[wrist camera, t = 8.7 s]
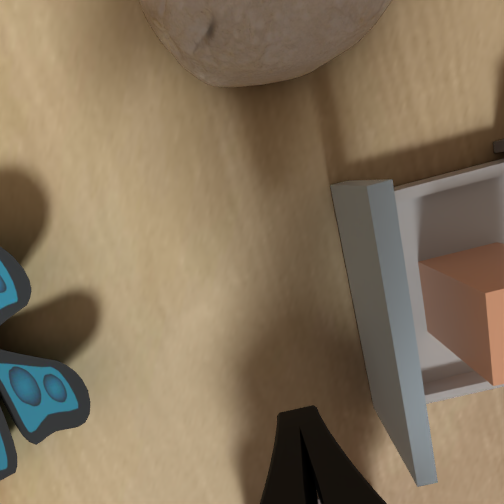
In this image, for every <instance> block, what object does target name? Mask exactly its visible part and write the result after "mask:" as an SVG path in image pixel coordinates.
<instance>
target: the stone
mask: <svg viewBox="0 0 504 504" xmlns="http://www.w3.org/2000/svg"><path fill="white" fill-rule="evenodd" d="M391 1H392V0H139V2H140V5H141V7H142V10H143V12H144V14H145V17H146V19H147V21H148V23H149V24H150V26H151V28H152V29H153V31H154V32H155V34H156V35H157V37H158V38H159V40H160V41H161V42H162V43H163V45H164V46H165V47H166V48H167V49H168V50H169V51H170V52H171V53H172V54H173V55H174V57H175V58H176V60H177V61H178V62H179V63H180V64H181V66H183V67H184V68H185V69H186V70H187V71H189V72H190V73H191V74H193V75H194V76H196V77H197V78H198V79H200V80H202V81H203V82H205V83H206V84H209V85H212V86H217V87H241V86H252V85H263V84H269V83H274V82H280V81H285V80H290V79H293V78H297V77H300V76H303V75H306V74H308V73H310V72H312V71H314V70H315V69H317V68H318V67H320V66H322V65H323V64H325V63H327V62H328V61H330V60H332V59H333V58H335V57H336V56H338V55H340V54H341V53H343V52H345V51H346V50H348V49H349V48H351V47H352V46H353V45H355V44H356V43H357V42H358V41H360V40H361V39H362V38H363V37H364V35H365V34H366V33H367V32H368V31H369V30H370V29H371V28H372V27H373V26H374V25H375V23H376V22H377V21H378V20H379V18H380V17H381V15H382V14H383V13H384V11H385V10H386V8H387V7H388V5H389V4H390V2H391Z"/></svg>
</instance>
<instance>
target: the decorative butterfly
mask: <svg viewBox="0 0 504 504" xmlns="http://www.w3.org/2000/svg"><path fill="white" fill-rule="evenodd" d="M30 295H31V286H30V281H29V278H28V277H27V275H26V273H25V271H24V269H23V268H22V266H21V265H20V264H19V263H18V262H17V261H16V260H15V258H14V257H13V256H12V255H11V254H9V253H8V252H7V251H6V250H4V249H3V248H2V247H0V325H1V324H2V323H4V322H5V321H6V320H7V319H9V318H10V317H11V316H13V315H14V314H15V313H17V312H18V311H19V310H21V309H22V308H23V307H25V306H26V305H27V304H28V302H29V299H30ZM0 397H1V399H2V401H3V403H4V405H5V407H6V409H7V410H8V412H9V414H10V416H11V418H12V420H13V421H14V423H15V425H16V426H17V428H18V429H19V431H20V432H21V434H22V435H23V436H24V437H25V438H26V439H27V440H28V441H29V442H31V443H33V444H36V445H37V444H38V443H40V442H41V441H43V440H44V439H45V438H46V437H47V436H49V435H50V434H52V433H54V432H55V431H59V430H64V429H69V428H75V427H78V426H80V425H82V424H83V423H85V422H86V420H87V418H88V416H89V414H90V398H89V394H88V390H87V388H86V386H85V384H84V382H83V380H82V379H81V378H80V377H79V375H78V374H77V373H76V372H75V371H74V370H72V369H71V368H70V367H68V366H67V365H65V364H63V363H61V362H59V361H56V360H50V359H44V358H39V357H33V356H28V355H23V354H18V353H14V352H9V351H5V350H1V349H0ZM16 468H17V453H16V450H15V446H14V442H13V439H12V436H11V433H10V430H9V428H8V425H7V422H6V419H5V417H4V414H3V412H2V409H1V407H0V480H2V479H4V478H6V477H8V476H10V475H11V474H13V473H15V472H16Z"/></svg>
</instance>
